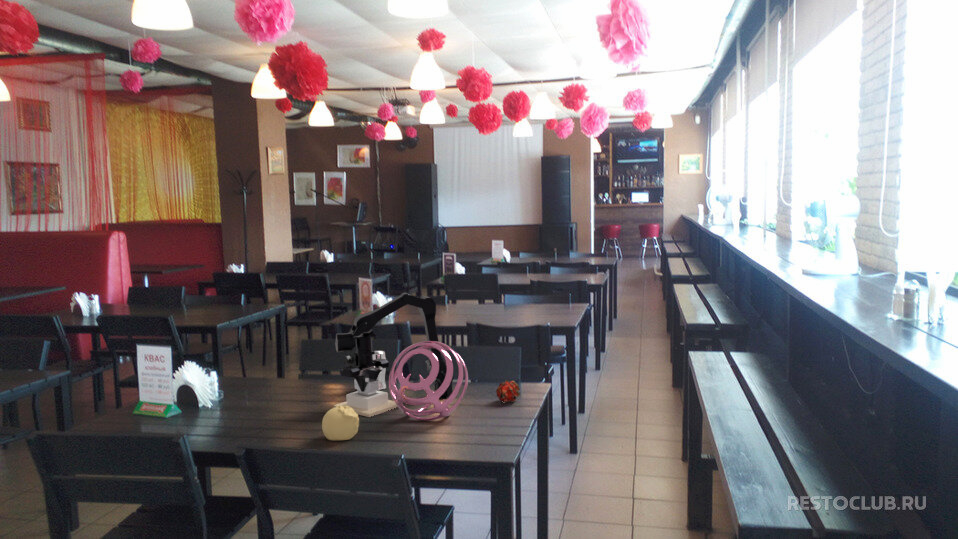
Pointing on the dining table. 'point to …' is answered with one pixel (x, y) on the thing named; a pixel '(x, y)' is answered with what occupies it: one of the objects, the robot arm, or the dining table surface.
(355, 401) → the cream square frame
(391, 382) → the pink openwork sphere
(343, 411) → the sculpture
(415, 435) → the dining table surface
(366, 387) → the grey wooden block
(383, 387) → the beer glass
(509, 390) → the dragon fruit
